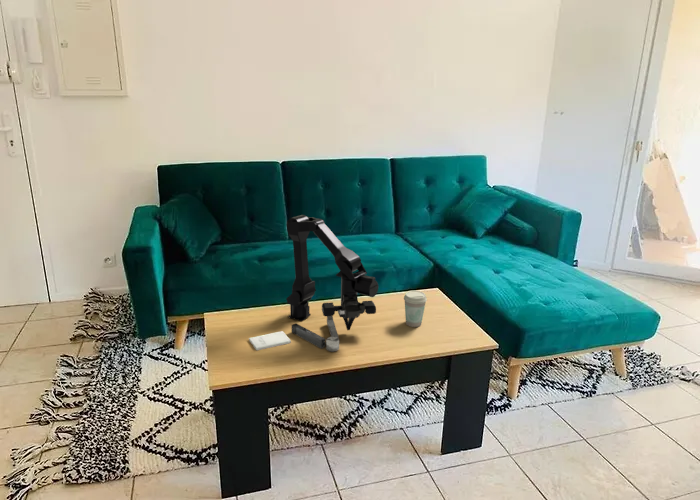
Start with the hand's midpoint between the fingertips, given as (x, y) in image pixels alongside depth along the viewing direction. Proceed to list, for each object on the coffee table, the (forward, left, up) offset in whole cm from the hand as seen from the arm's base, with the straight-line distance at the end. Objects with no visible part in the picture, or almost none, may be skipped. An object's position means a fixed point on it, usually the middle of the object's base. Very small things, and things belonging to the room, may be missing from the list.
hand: (348, 329), depth 191 cm
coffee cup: (+18, +19, -2) cm, 26 cm away
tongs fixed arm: (-10, -11, -1) cm, 15 cm away
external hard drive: (-21, -18, -2) cm, 28 cm away
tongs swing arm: (-4, -6, -1) cm, 8 cm away
